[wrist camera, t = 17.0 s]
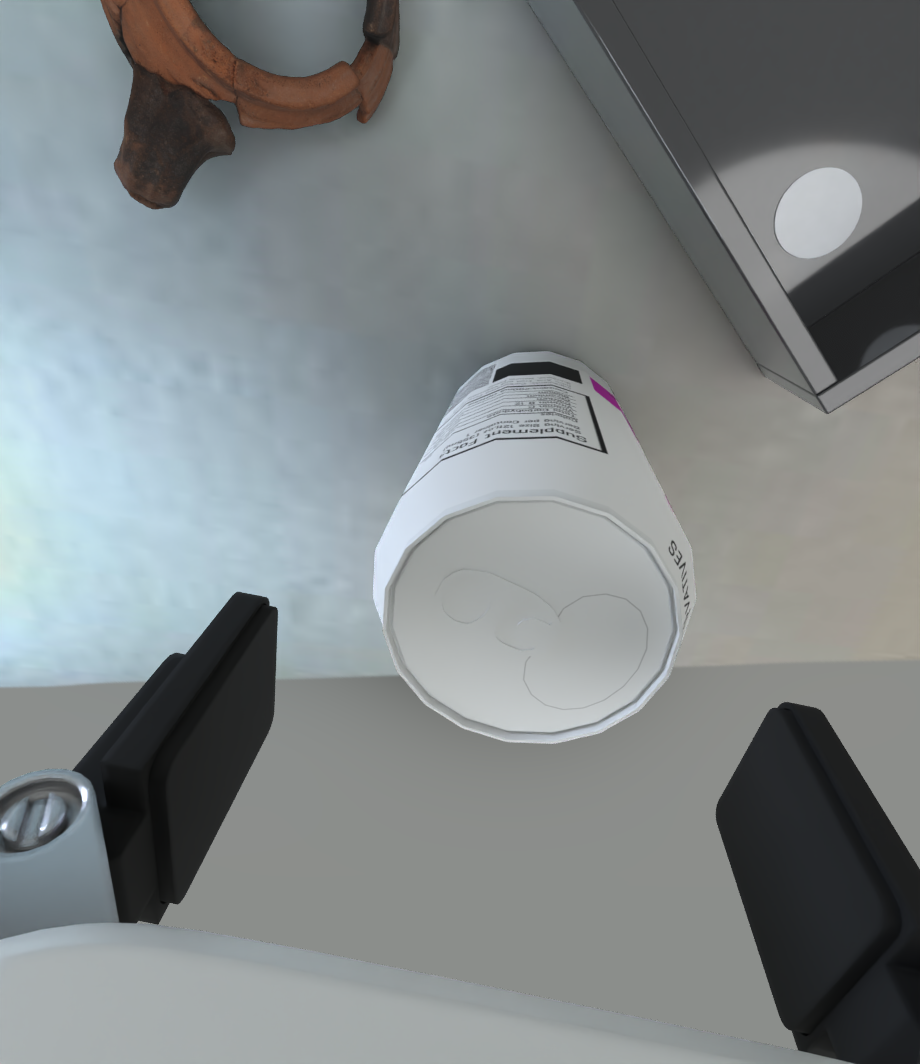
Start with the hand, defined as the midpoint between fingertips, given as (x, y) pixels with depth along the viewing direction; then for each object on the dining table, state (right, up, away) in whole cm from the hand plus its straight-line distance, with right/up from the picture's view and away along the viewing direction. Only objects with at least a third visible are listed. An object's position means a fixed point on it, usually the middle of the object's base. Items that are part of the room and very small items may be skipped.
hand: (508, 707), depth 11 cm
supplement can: (+2, +8, +16) cm, 18 cm away
